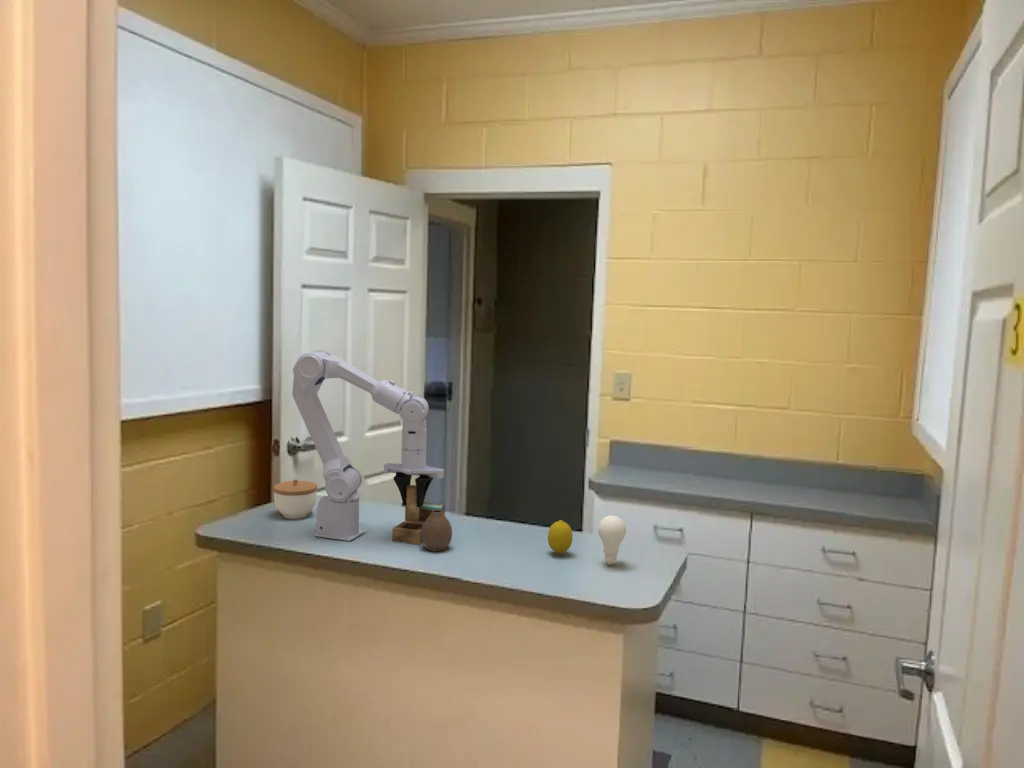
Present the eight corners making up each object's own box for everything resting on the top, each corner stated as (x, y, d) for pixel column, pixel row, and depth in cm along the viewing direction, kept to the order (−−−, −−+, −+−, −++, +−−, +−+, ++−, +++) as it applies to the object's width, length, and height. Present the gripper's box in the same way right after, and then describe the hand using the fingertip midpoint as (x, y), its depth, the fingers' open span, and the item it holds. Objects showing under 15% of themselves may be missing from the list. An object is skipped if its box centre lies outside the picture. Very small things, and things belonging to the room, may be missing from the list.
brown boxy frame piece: (386, 540, 181) (386, 511, 180) (406, 526, 191) (407, 500, 190) (425, 545, 178) (426, 517, 177) (444, 532, 188) (444, 504, 187)
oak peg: (403, 520, 181) (404, 487, 180) (409, 517, 184) (410, 484, 183) (415, 522, 180) (416, 488, 179) (421, 519, 183) (421, 485, 182)
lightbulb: (617, 571, 165) (619, 521, 164) (591, 565, 168) (593, 516, 167) (628, 563, 170) (631, 515, 169) (603, 557, 174) (606, 510, 172)
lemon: (574, 552, 177) (575, 518, 176) (568, 560, 171) (569, 525, 170) (551, 549, 178) (552, 515, 177) (544, 556, 173) (545, 521, 172)
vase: (446, 554, 172) (447, 516, 171) (417, 551, 174) (418, 513, 173) (455, 545, 179) (456, 508, 178) (426, 542, 180) (427, 505, 179)
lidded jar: (325, 512, 201) (325, 477, 200) (300, 523, 191) (300, 486, 190) (291, 507, 204) (291, 472, 203) (264, 517, 195) (264, 481, 193)
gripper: (377, 448, 178) (377, 506, 180) (435, 454, 174) (434, 513, 176) (391, 443, 185) (390, 498, 187) (447, 448, 181) (446, 505, 182)
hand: (413, 505), depth 181 cm, fingers closed on oak peg, 3 cm apart
